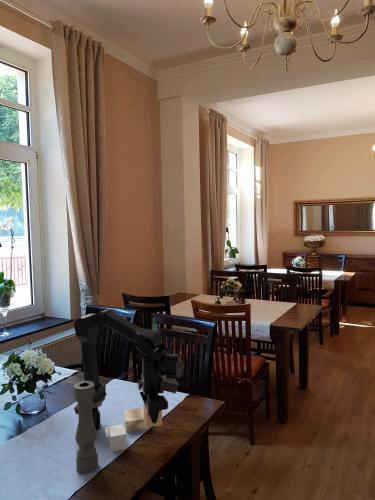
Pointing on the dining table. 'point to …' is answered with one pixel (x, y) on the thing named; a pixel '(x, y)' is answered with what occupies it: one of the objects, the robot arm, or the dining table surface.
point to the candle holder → (85, 428)
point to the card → (109, 428)
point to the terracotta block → (148, 419)
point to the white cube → (117, 438)
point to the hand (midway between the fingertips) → (152, 419)
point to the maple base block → (134, 420)
